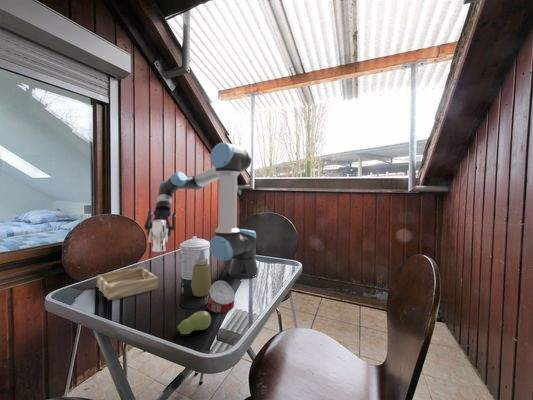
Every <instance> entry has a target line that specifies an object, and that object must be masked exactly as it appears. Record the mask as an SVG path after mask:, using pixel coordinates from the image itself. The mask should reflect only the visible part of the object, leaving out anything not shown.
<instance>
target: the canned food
mask: <svg viewBox="0 0 533 400" xmlns="http://www.w3.org/2000/svg"><path fill="white" fill-rule="evenodd" d="M208 295H209V296H208V297H207V301H206V302H207V305H206V306H207V307H206V308H207V310H208V311H210V312H213V313H227V312H230V311H231V309H232V308H233V307H234V308H235V298H236V297H235V296H236V295H235V291H234V289H233V288H232V286H231V285H229V283H228V282H227V281H225V280H217V281H214V282H213V283H211V287H210V289H209V292H208ZM234 308H233V309H234ZM233 309H232V310H233ZM229 310H230V311H229Z"/></svg>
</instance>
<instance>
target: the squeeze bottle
mask: <svg viewBox="0 0 533 400" xmlns="http://www.w3.org/2000/svg"><path fill="white" fill-rule="evenodd" d="M208 261H209V260H208V258H206V256H205V250H203V249H202V250H200V252H199V257H198V258H197V259H195V264H194V265H193V266H192V274H191V280H190V281H191V282H190V288H191V291H192V294H193V296H194V297H198V298H199V297H205V296H207V295H209V290H210V287H211V285H212V280H211V279H212V277H211V265H210V264H209V262H208Z"/></svg>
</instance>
